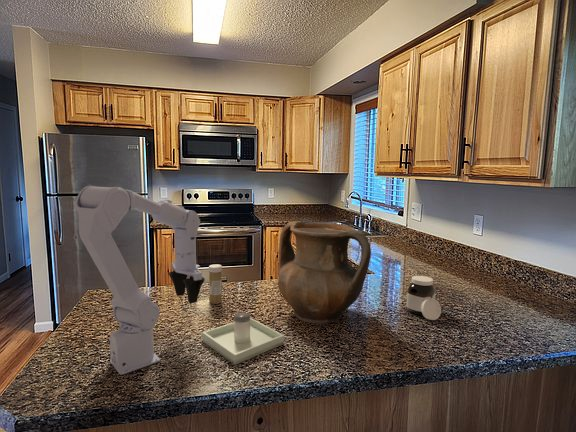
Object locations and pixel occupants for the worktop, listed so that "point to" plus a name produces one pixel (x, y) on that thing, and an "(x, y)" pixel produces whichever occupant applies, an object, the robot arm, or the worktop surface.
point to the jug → (320, 270)
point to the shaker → (242, 328)
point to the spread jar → (423, 298)
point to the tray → (236, 353)
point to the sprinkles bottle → (215, 283)
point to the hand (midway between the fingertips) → (186, 298)
